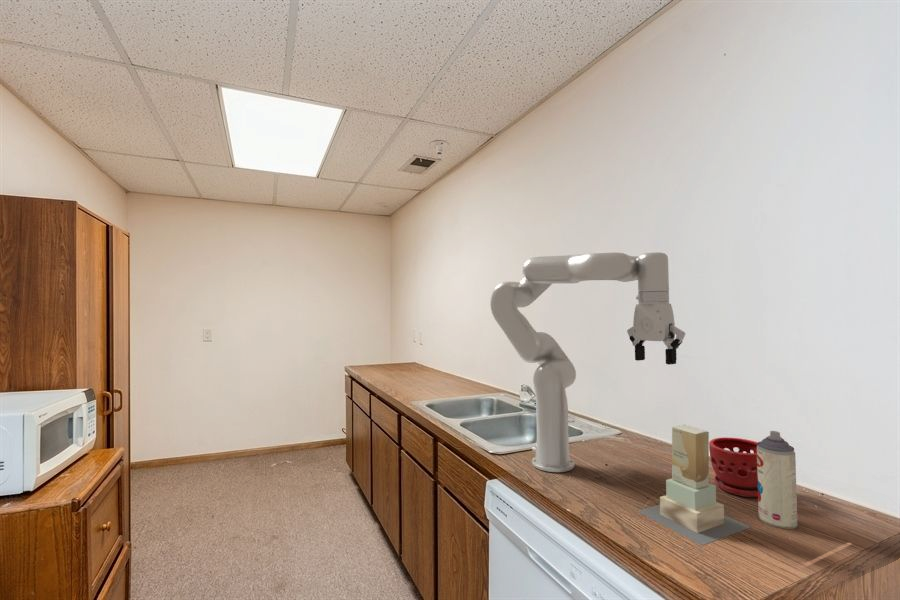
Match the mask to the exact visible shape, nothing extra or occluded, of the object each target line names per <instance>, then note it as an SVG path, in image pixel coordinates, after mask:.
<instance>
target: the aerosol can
mask: <svg viewBox="0 0 900 600" xmlns="http://www.w3.org/2000/svg"><path fill="white" fill-rule="evenodd" d="M757 442H758V443H757V444H758V445H757V477H758V497H757V501H758V502H757V505H758V509H757V510H758V512H757V513H758V519H759V520H760V521H761V522H763V523H765V524H766V525H769V526H772V527H774V528H779V529H784V530H786V529H787V530H793V529H796V528H797V527H798V499H797V496H798V495H797V468H796V466H797V464H796V463H797V462H796V461H797V460H796V452H795V448H794V447H793V446H792V445H790V444H789V443H788V441H786V440H785V439H784V438H782V437H781V432H779V431H777V430H770V432H769V435H768V436H765V438H763V439H762V440H761V441H757Z"/></svg>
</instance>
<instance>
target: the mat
mask: <svg viewBox="0 0 900 600" xmlns="http://www.w3.org/2000/svg"><path fill="white" fill-rule="evenodd" d="M636 512H637V513H639V514H641V515H643V516H644V517H647V518H649V519H650V520H652V521H654V522H656V523H659V524H661V525H662V526H664V527H666V528H668V529H670V530H672V531H673V532H675V533H677V534H679V535H682V536H683V537H685V538H687V539H689V540H691V541H692V542H695V543H696V544H699V545H700V546H705V545H708V544H711V543H714V542H716V541H718V540H721V539H723V538H726V537H729V536H732V535H733V534H736V533H740V532H742V531H745V530H748V529H750V528H751V526H749V525H747V524H745V523H742V522H740V521H738V520H736V519H733V518H731V517H729V516H726V515H724V524H721V525H718V526H716V527H713V528H710V529H707V530H704V531H702V532H699V533H696V532H694V531H692V530H690V529H688V528H686V527H684V526H682V525H680V524H678V523H676V522H674V521H672V520H670V519H668V518H666V517H664V516H662V515H660V503H659V504H656V505H653V506H650V507H646V508H643V509H640V510H637V511H636Z"/></svg>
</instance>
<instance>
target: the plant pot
mask: <svg viewBox="0 0 900 600" xmlns="http://www.w3.org/2000/svg"><path fill="white" fill-rule="evenodd" d="M758 442H759V441H754V440H751V439H745V438H739V437H716V438H713V439H711V440H710V441H709V457H710V458H709V459H710V462H711V466H712V469H713V472H714V474H715V476H714V478H713V479H714V483H715V485H717V486H718V488H720V489H722V490H724V491H725V492H727V493H730V494H733V495H736V496H741V497H749V498H750V497H751V498H755V497H756V498H758V477H757V445H758V444H757V443H758ZM734 448H737V449H738V451H735V450H734ZM727 449H728V450H727ZM751 451H752V452H753V453H752V452H751Z"/></svg>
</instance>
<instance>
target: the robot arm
mask: <svg viewBox="0 0 900 600" xmlns="http://www.w3.org/2000/svg"><path fill="white" fill-rule="evenodd" d="M522 274H523V277H524V278H522V279H521V280H520V281H504V282H501V283H499V284H498V285H497V286H495V288H494V289H493V291H492V293H491V297H490V302H489V303H490V305H489V306H490V310H491V313H492V316H493V318H494V320H495V322H496V323H497V324H498V326H499V327H500V329H501V330H502V331H503V332H504V334H505V336H506V337H507V339H508V341H509V342H510V343H511V345H512V347H513V348H514V349H515V351H516V353H517V354H518V355H519V357H520V358H521V359H522V360H523V361H524V362H525V363H529V364H535V363H537V364H538V367H537V368H536V369H535V371H534V374H533V377H532V380H533V381H532V382H533V389H534V393H535V394H534V395H535V411H536V412H535V414H536V444H535V446H532V448H531V450H532V451H533V452H534V453H535V456H534V457H533V458H532V459H531V465H532V466H533V467H534V468H536V469H537V470H540V471H544V472H550V473H566V472H569V471H571V470H573V469H574V468H575V461H574V460H573V459H571V458H570V451H569V450H570V447H569V446H570V445H569V443H570V442H569V406H568V405H569V404H568V399H567V398H568V397H567V392H566V389H567V388H568V387H571V386H572V385H573V384H574V383H575V380H576V378H577V371H576V369H575V366H574V364H573V362H572V361H571V360H570V358H569V357H568V356H567V354H566V353H565V351H564V350H563V349H562V346H560V344H559V343H558V342H557V341H556V339H554V337H553V336H552V335H550V334H548V333H546V332H544V331H536V329H535V328H534V327H533V326H532V324H530V322H529V320H528V318H526V316H525V314H523V313H521V310H519V309H518V308H525V307H526V308H527V307H528V306H530V305H531V304H533V303H534V302H535V301H536V300H537V299H539V297H540V296H541V295H543V293H544V292H546V291H547V289H548V288H550V287H551V286H552V284H578V283H580V282H587V281H618V282H623V283H628V282H633V281H637V291H638V292H637V293H638V294H637V295H636V296H635V299H636V300H638V303H636V304H635V307H634V311H633V321H632V322H633V324H632V327H630V328H628V329H627V330H626V332H627V334H628V337H629V340H630V342H632V346H633V347H634V359H635V361H638V362H639V361H645V359H646V347H645V345H644V343H645V342H646V341H648V342H663V344H664V345H665V346H666V348H665V364H666V365H669V366H670V365H676V364H677V360H678V359H677V349H679V347H680V345H681V344H683V340H684V339H685V336H686V332H685V331H684V330H682V329H680V328H679V327H677V326H676V323H675V317H674V316H675V315H674V310H673V306H672V304H671V303H670V288H669V287H670V286H669V285H670V280H669V277H670V276H669V257H668V255H667V253H664V252H646V253H641V254H639V256H636V255H635V256H632V255H629V254H626V253H624V252H601V253H600V252H599V253H583V254H570V255H569V254H567V255H566V254H565V255H549V256H547V255H546V256H545V255H544V256H533V257H530V258H529V259H527V260H526V261H525V262H524V264H523V266H522Z"/></svg>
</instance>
